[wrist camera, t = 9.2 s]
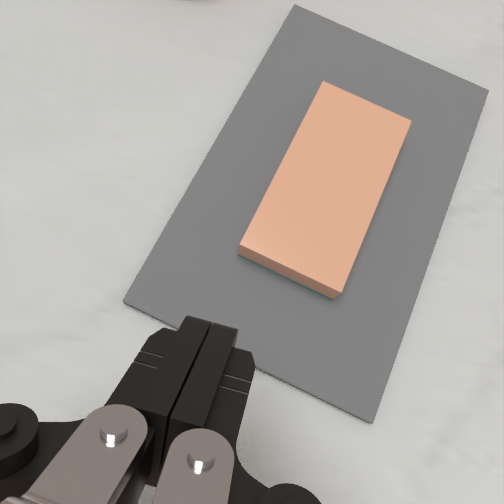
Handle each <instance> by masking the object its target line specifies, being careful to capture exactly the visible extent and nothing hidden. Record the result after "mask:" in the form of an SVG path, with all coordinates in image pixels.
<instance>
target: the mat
mask: <svg viewBox="0 0 504 504" xmlns="http://www.w3.org/2000/svg"><path fill="white" fill-rule="evenodd" d="M323 81H325V82H327V83H329V84H331V85H334V86H336V87H338V88H340V89H342V90H345V91H347V92H349V93H351V94H354V95H356V96H358V97H360V98H362V99H365V100H367V101H369V102H371V103H373V104H376V105H378V106H380V107H382V108H385V109H387V110H389V111H391V112H393V113H396V114H398V115H400V116H402V117H405V118H407V119H409V120H411V121H412V122H411V124H410V127H409V129H408V132H407V134H406V136H405V139H404V141H403V144H402V146H401V149H400V151H399V154H398V156H397V158H396V161H395V163H394V166H393V168H392V171H391V173H390V175H389V178H388V180H387V183H386V185H385V188H384V190H383V193H382V195H381V197H380V200H379V202H378V205H377V207H376V210H375V212H374V214H373V217H372V219H371V222H370V224H369V227H368V229H367V232H366V234H365V236H364V239H363V241H362V244H361V246H360V249H359V251H358V253H357V256H356V258H355V261H354V263H353V266H352V268H351V271H350V273H349V275H348V278H347V280H346V283H345V285H344V288H343V290H342V292H341V293H340V294H339V295H338V296H336V297H335V298H334V299H333V300H330V299H328V298H326V297H324V296H322V295H320V294H318V293H316V292H313V291H311V290H309V289H307V288H305V287H303V286H301V285H299V284H297V283H295V282H292V281H290V280H288V279H286V278H284V277H282V276H280V275H278V274H276V273H274V272H272V271H269V270H267V269H265V268H263V267H261V266H259V265H257V264H255V263H253V262H251V261H249V260H246V259H244V258H242V257H240V256H238V255H237V254H238V249H239V244H240V242H241V240H242V238H243V236H244V234H245V233H246V231H247V229H248V227H249V225H250V223H251V221H252V219H253V217H254V215H255V213H256V211H257V209H258V207H259V205H260V203H261V201H262V199H263V197H264V195H265V193H266V191H267V189H268V187H269V186H270V184H271V182H272V180H273V178H274V176H275V174H276V172H277V170H278V168H279V166H280V164H281V162H282V160H283V158H284V156H285V154H286V152H287V150H288V148H289V146H290V144H291V142H292V141H293V139H294V137H295V135H296V133H297V131H298V129H299V127H300V125H301V123H302V121H303V119H304V117H305V115H306V113H307V111H308V109H309V107H310V105H311V103H312V101H313V99H314V97H315V95H316V94H317V92H318V90H319V88H320V86H321V84H322V82H323ZM488 92H489V90H487V89H485V88H483V87H480V86H478V85H476V84H474V83H471V82H469V81H467V80H465V79H462V78H460V77H458V76H455V75H453V74H451V73H449V72H446V71H444V70H442V69H440V68H437V67H435V66H433V65H431V64H428V63H426V62H424V61H422V60H419V59H417V58H415V57H413V56H410V55H408V54H406V53H404V52H401V51H399V50H397V49H395V48H392V47H390V46H388V45H386V44H383V43H381V42H379V41H376V40H374V39H372V38H370V37H367V36H365V35H363V34H361V33H358V32H356V31H354V30H352V29H349V28H347V27H345V26H343V25H340V24H338V23H336V22H334V21H331V20H329V19H327V18H325V17H322V16H320V15H318V14H316V13H313V12H311V11H309V10H307V9H304V8H302V7H300V6H297V5H295V4H294V6H293V8H292V9H291V11H290V13H289V15H288V16H287V18H286V20H285V21H284V23H283V25H282V27H281V28H280V30H279V32H278V34H277V35H276V37H275V39H274V40H273V42H272V44H271V46H270V47H269V49H268V51H267V53H266V54H265V56H264V58H263V59H262V61H261V63H260V65H259V66H258V68H257V70H256V71H255V73H254V75H253V77H252V78H251V80H250V82H249V84H248V85H247V87H246V89H245V90H244V92H243V94H242V96H241V97H240V99H239V101H238V102H237V104H236V106H235V108H234V109H233V111H232V113H231V115H230V116H229V118H228V120H227V121H226V123H225V125H224V127H223V128H222V130H221V132H220V133H219V135H218V137H217V139H216V140H215V142H214V144H213V146H212V147H211V149H210V151H209V152H208V154H207V156H206V158H205V159H204V161H203V163H202V164H201V166H200V168H199V170H198V171H197V173H196V175H195V177H194V178H193V180H192V182H191V183H190V185H189V187H188V189H187V190H186V192H185V194H184V196H183V197H182V199H181V201H180V202H179V204H178V206H177V208H176V209H175V211H174V213H173V214H172V216H171V218H170V220H169V221H168V223H167V225H166V227H165V228H164V230H163V232H162V233H161V235H160V237H159V239H158V240H157V242H156V244H155V245H154V247H153V249H152V251H151V252H150V254H149V256H148V258H147V259H146V261H145V263H144V264H143V266H142V268H141V270H140V271H139V273H138V275H137V276H136V278H135V280H134V282H133V283H132V285H131V287H130V289H129V290H128V292H127V294H126V295H125V297H124V299H123V302H124V303H125V304H127V305H130V306H132V307H134V308H136V309H138V310H140V311H142V312H144V313H146V314H148V315H150V316H152V317H154V318H156V319H158V320H160V321H162V322H164V323H166V324H168V325H170V326H172V327H174V328H176V329H179V327H180V325H181V324H182V322H183V320H184V318H185V317H186V316H187V315H189V316H193V317H196V318H200V319H204V320H207V321H211V322H212V324H213V323H218V324H221V325H225V326H229V327H232V328H236V329H238V335H237V339H236V344H235V348H239V349H243V350H246V351H250V352H252V355H253V359H254V362H255V366H256V368H258V369H260V370H262V371H264V372H266V373H268V374H270V375H272V376H274V377H276V378H278V379H280V380H282V381H284V382H286V383H288V384H290V385H292V386H294V387H296V388H299V389H301V390H303V391H305V392H307V393H309V394H311V395H313V396H315V397H317V398H319V399H321V400H323V401H325V402H327V403H329V404H331V405H333V406H335V407H337V408H339V409H341V410H343V411H345V412H347V413H349V414H351V415H354V416H356V417H358V418H360V419H362V420H364V421H366V422H368V423H371V424H373V421H374V419H375V416H376V413H377V410H378V407H379V404H380V401H381V399H382V396H383V393H384V390H385V387H386V384H387V381H388V378H389V376H390V373H391V370H392V367H393V364H394V361H395V358H396V356H397V353H398V350H399V347H400V344H401V341H402V338H403V335H404V333H405V330H406V327H407V324H408V321H409V318H410V315H411V313H412V310H413V307H414V304H415V301H416V298H417V295H418V293H419V290H420V287H421V284H422V281H423V278H424V275H425V272H426V270H427V267H428V264H429V261H430V258H431V255H432V252H433V250H434V247H435V244H436V241H437V238H438V235H439V232H440V229H441V227H442V224H443V221H444V218H445V215H446V212H447V209H448V207H449V204H450V201H451V198H452V195H453V192H454V189H455V186H456V184H457V181H458V178H459V175H460V172H461V169H462V166H463V164H464V161H465V158H466V155H467V152H468V149H469V146H470V144H471V141H472V138H473V135H474V132H475V129H476V126H477V123H478V121H479V118H480V115H481V112H482V109H483V106H484V103H485V101H486V98H487V95H488Z"/></svg>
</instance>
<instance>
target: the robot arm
mask: <svg viewBox="0 0 504 504" xmlns="http://www.w3.org/2000/svg"><path fill="white" fill-rule="evenodd" d="M237 335H238V329H236V328H232V327H229V326H225V325H221V324H218V323H213V324H212V322H211V321H207V320H204V319H200V318H196V317H193V316H189V315H187V316H186V317H185V318H184V320H183V322H182V324H181V325H180V327H179V329H178V331H174V330H171V329H167V328H162V329H160V330H159V331H157V332H156V333H154V334H153V335H151V336H149V338H148V339H147V341H146V342H145V344H144V345H143V347H142V349H141V351H140V352H139V353H138V355H137V356H136V358H135V359H134V362H133V363H132V364H131V366H130V367H129V369H128V370H127V372H126V373H125V375H124V376H123V378H122V379H121V381H120V383H119V384H118V386H117V387H116V389H115V390H114V392H113V393H112V395H111V397H110V398H109V400H108V401H107V403H106V404H105V405H104V406H103V407H101V408H98V409H96V410H95V411H93V412H92V413H90V414H89V415H88V416H87V417H86V418H84V419H81V420H78V421H72V422H38V418H37V415H36V414H35V413H34V411H32V410H31V409H30V408H28V407H26V406H24V405H21V404H15V403H6V404H0V504H138V502H139V498H140V495H141V493H142V491H143V488H144V486H145V484H147V485H151V486H154V487H157V488H156V492H155V495H154V498H153V501H152V504H321V503H320V501H319V500H318V499H317V498H316V497H315V496H314V495H313V494H312V493H311V492H310V491H308V490H307V489H305V488H303V487H301V486H298V485H295V484H288V483H284V484H278V485H275V486H273V487H271V488H270V489H269V488H267V487H266V486H264V485H263V484H261V483H260V482H258V481H257V480H255V479H254V478H253V477H252V476H250V475H249V474H248V473H247V472H246V471H245V469H244V468H243V467H242V465H241V464H240V462H239V459H238V457H237V453H236V441H237V437H238V433H239V429H240V425H241V421H242V417H243V413H244V410H245V406H246V402H247V398H248V394H249V390H250V386H251V383H252V379H253V375H254V371H255V367H256V366H255V362H254V359H253V355H252V352H250V351H246V350H243V349H239V348H235V344H236V339H237Z"/></svg>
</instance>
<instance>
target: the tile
mask: <svg viewBox="0 0 504 504" xmlns="http://www.w3.org/2000/svg"><path fill="white" fill-rule="evenodd" d="M411 122H412V121H411V120H409V119H407V118H405V117H402V116H400V115H398V114H396V113H393V112H391V111H389V110H387V109H385V108H382V107H380V106H378V105H376V104H373V103H371V102H369V101H367V100H365V99H362V98H360V97H358V96H356V95H354V94H351V93H349V92H347V91H345V90H342V89H340V88H338V87H336V86H334V85H331V84H329V83H327V82H325V81H323V82H322V84H321V86H320V88H319V90H318V92H317V94H316V95H315V97H314V99H313V101H312V103H311V105H310V107H309V109H308V111H307V113H306V115H305V117H304V119H303V121H302V123H301V125H300V127H299V129H298V131H297V133H296V135H295V137H294V139H293V141H292V142H291V144H290V146H289V148H288V150H287V152H286V154H285V156H284V158H283V160H282V162H281V164H280V166H279V168H278V170H277V172H276V174H275V176H274V178H273V180H272V182H271V184H270V186H269V187H268V189H267V191H266V193H265V195H264V197H263V199H262V201H261V203H260V205H259V207H258V209H257V211H256V213H255V215H254V217H253V219H252V221H251V223H250V225H249V227H248V229H247V231H246V233H245V234H244V236H243V238H242V240H241V242H240V244H239V249H238V254H237V255H238V256H240V257H242V258H244V259H246V260H249V261H251V262H253V263H255V264H257V265H259V266H261V267H263V268H265V269H267V270H269V271H272V272H274V273H276V274H278V275H280V276H282V277H284V278H286V279H288V280H290V281H292V282H295V283H297V284H299V285H301V286H303V287H305V288H307V289H309V290H311V291H313V292H316V293H318V294H320V295H322V296H324V297H326V298H328V299H330V300H333V299H334V298H335V297H336V296H338V295H339V294H340V293H341V292H342V290H343V288H344V285H345V283H346V280H347V278H348V275H349V273H350V271H351V268H352V266H353V263H354V261H355V258H356V256H357V253H358V251H359V249H360V246H361V244H362V241H363V239H364V236H365V234H366V232H367V229H368V227H369V224H370V222H371V219H372V217H373V214H374V212H375V210H376V207H377V205H378V202H379V200H380V197H381V195H382V193H383V190H384V188H385V185H386V183H387V180H388V178H389V175H390V173H391V171H392V168H393V166H394V163H395V161H396V158H397V156H398V154H399V151H400V149H401V146H402V144H403V141H404V139H405V136H406V134H407V132H408V129H409V127H410V124H411Z"/></svg>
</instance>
